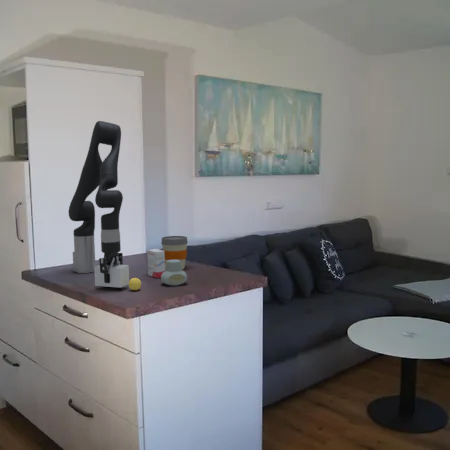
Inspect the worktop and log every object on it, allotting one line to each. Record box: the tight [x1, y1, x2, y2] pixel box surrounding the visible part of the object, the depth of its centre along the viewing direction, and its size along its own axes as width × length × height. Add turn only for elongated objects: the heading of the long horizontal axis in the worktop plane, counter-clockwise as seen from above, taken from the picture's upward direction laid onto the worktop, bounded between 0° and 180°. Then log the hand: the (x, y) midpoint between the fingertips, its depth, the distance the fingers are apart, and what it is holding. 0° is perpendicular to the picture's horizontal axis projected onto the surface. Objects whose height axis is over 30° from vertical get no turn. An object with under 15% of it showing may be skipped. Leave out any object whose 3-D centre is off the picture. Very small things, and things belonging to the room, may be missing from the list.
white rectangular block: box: [94, 264, 130, 288], centre depth 205 cm, size 12×7×8 cm, turn 71°
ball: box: [128, 277, 142, 291], centre depth 202 cm, size 5×5×5 cm
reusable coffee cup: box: [160, 235, 188, 271], centre depth 243 cm, size 13×12×15 cm
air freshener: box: [160, 260, 188, 287], centre depth 211 cm, size 11×8×10 cm
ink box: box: [146, 248, 166, 279], centre depth 227 cm, size 9×5×12 cm, turn 33°
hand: (112, 280), depth 205 cm, fingers closed on white rectangular block, 6 cm apart
